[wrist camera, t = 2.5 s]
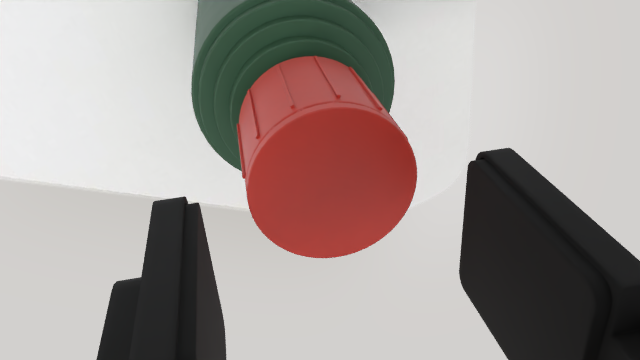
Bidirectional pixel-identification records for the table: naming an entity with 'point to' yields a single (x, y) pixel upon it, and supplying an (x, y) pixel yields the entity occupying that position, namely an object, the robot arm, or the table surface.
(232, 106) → the bottle
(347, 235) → the cap
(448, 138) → the table surface
